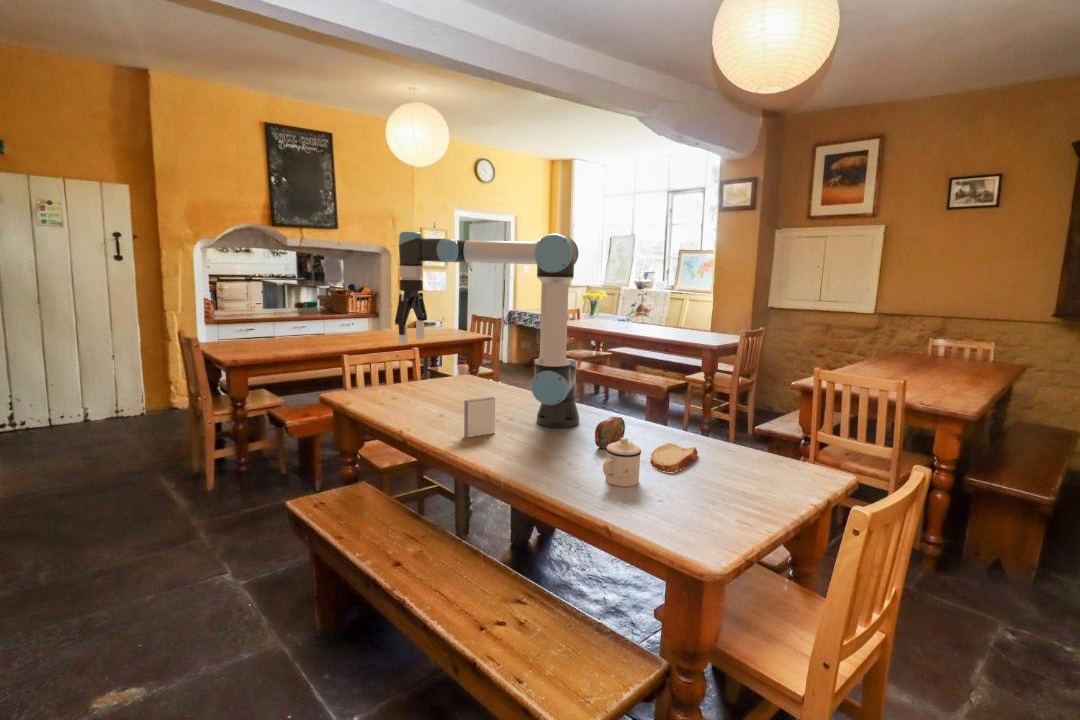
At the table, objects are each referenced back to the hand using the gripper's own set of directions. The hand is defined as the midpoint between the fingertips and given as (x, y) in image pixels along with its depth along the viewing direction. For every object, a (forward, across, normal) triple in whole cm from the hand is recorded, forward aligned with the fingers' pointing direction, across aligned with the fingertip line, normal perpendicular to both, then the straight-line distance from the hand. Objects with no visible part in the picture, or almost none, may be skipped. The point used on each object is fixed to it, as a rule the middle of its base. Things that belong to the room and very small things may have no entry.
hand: (412, 341), depth 191 cm
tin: (+28, +7, +69) cm, 75 cm away
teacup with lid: (+28, +37, +74) cm, 87 cm away
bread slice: (+29, +16, +89) cm, 95 cm away
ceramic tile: (+28, +9, +27) cm, 40 cm away
